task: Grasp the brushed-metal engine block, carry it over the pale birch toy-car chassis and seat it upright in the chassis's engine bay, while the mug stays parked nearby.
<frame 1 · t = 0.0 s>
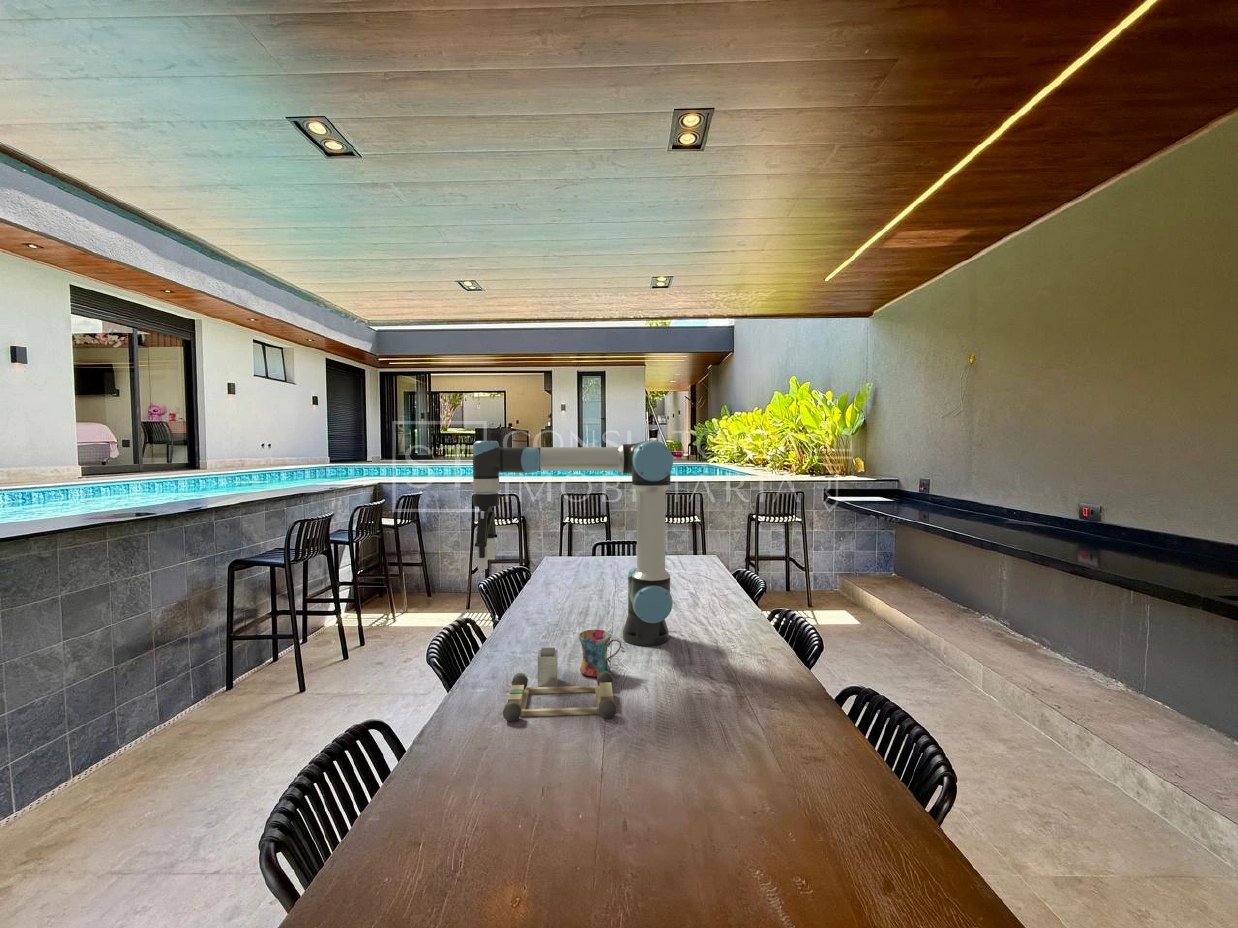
hand: (486, 564, 168), 28 cm above the table, fingers open, 13 cm apart
engine block: (547, 682, 151), on the table
mug: (599, 673, 157), on the table
chassis: (561, 702, 139), on the table
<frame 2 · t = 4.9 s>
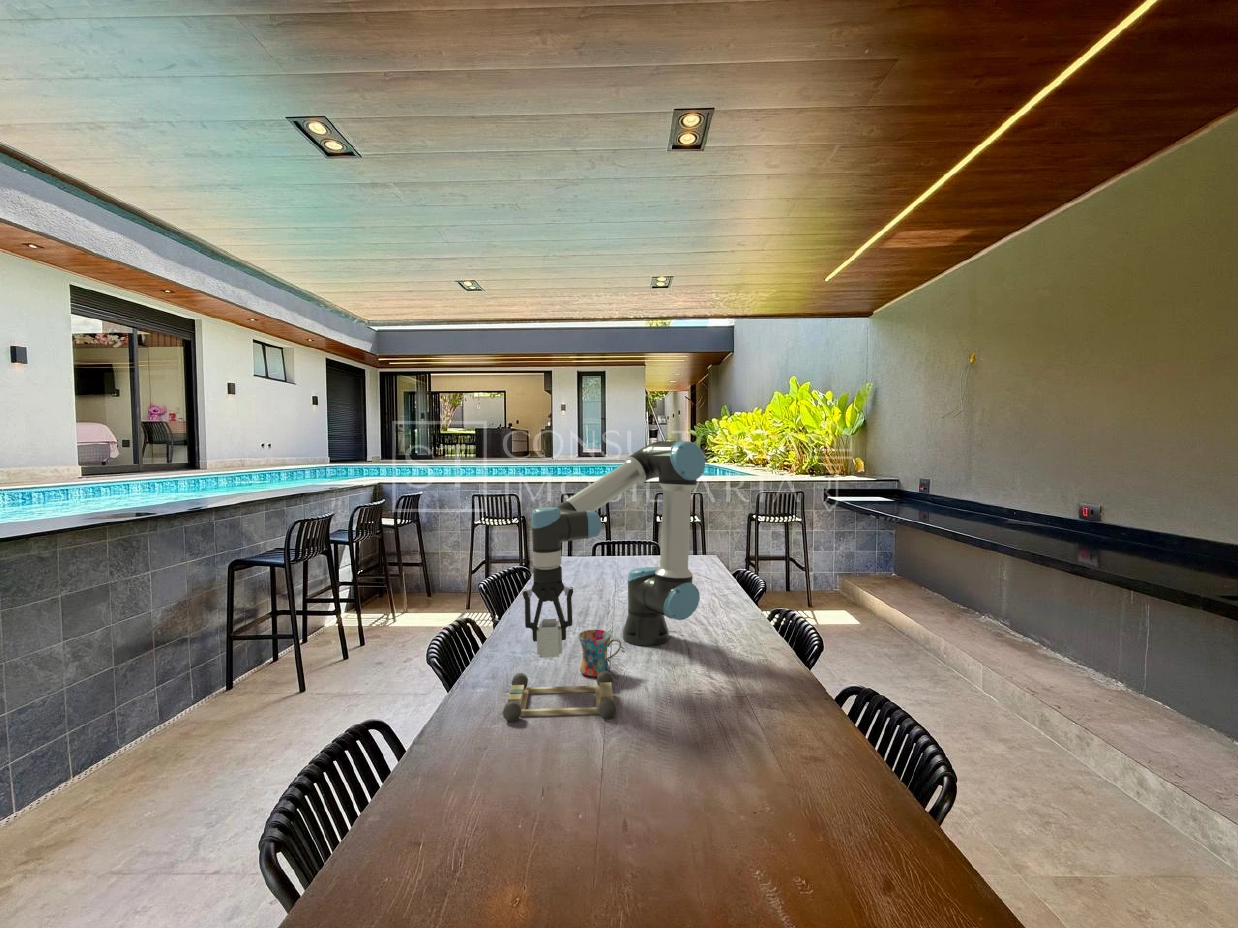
hand: (550, 652, 151), 8 cm above the table, fingers closed on engine block, 5 cm apart
engine block: (550, 653, 151), point 8 cm above the table, touching gripper
everything else where it was.
when the fingers open (1 cm above the table, at t = 8.8 s): engine block stays where it is, resting in chassis.
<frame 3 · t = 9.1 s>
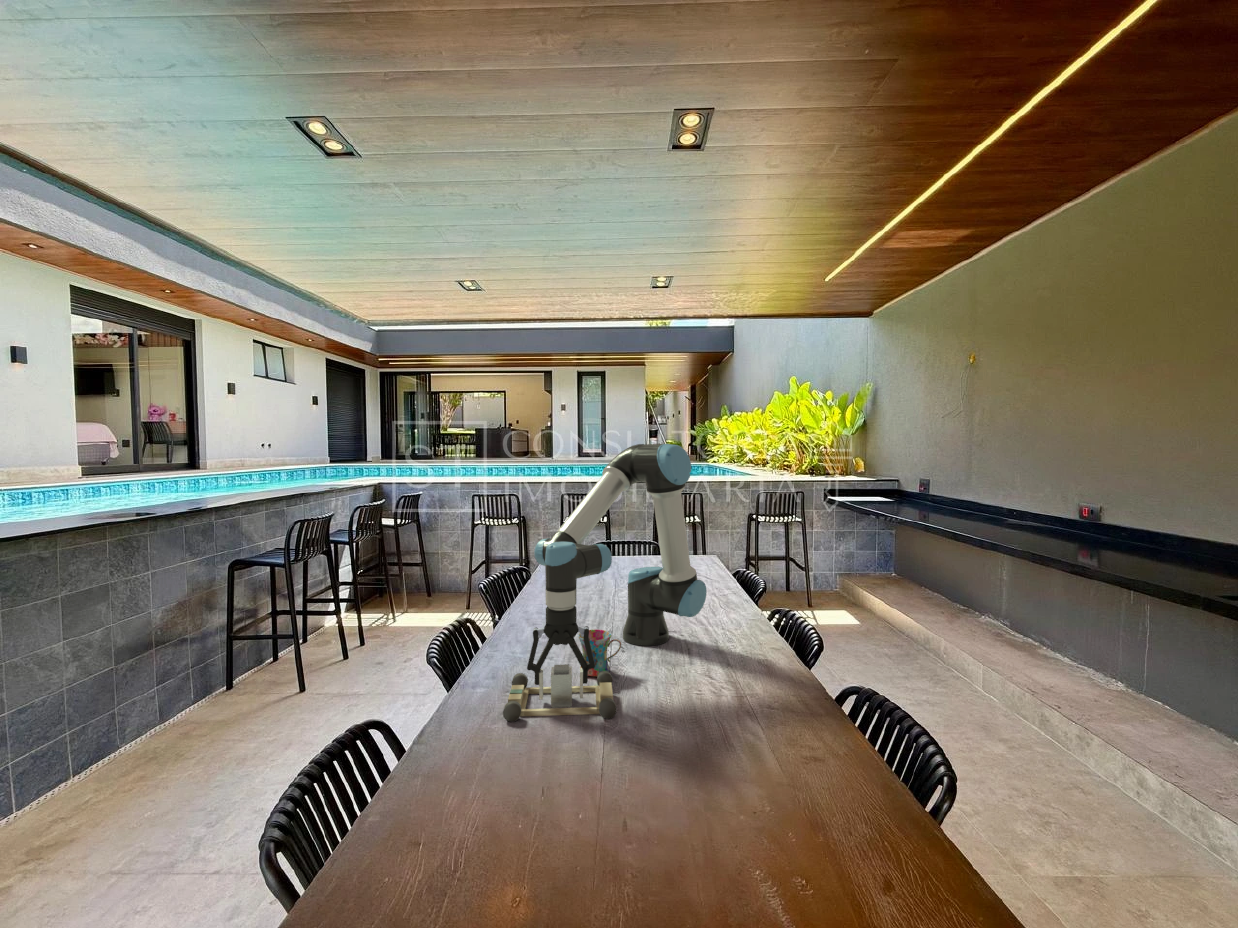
hand: (561, 696, 139), 2 cm above the table, fingers open, 9 cm apart
engine block: (561, 702, 139), resting in chassis
everything else where it was.
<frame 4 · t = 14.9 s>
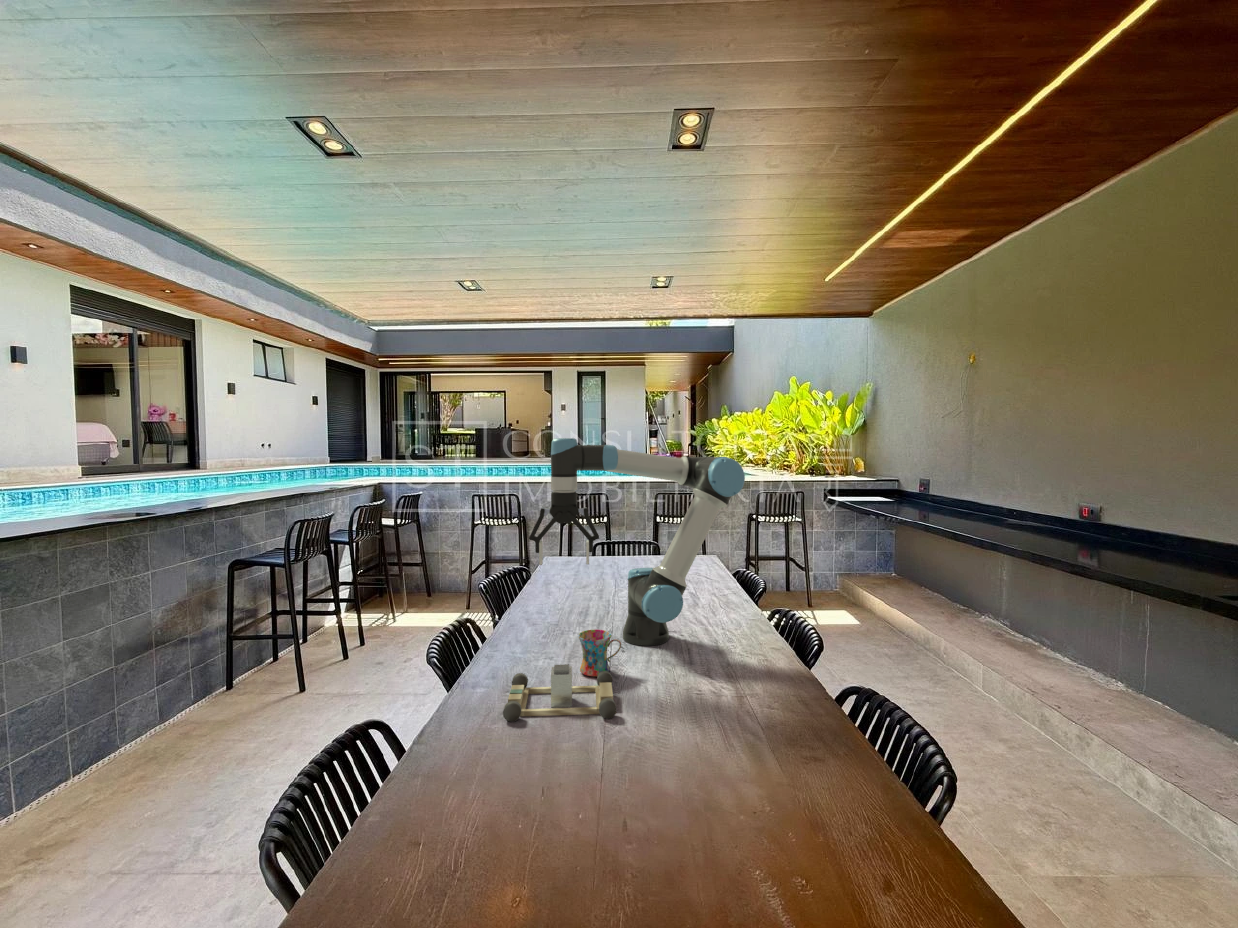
hand: (564, 563, 165), 29 cm above the table, fingers open, 13 cm apart
nothing on the table moved.
at the end: engine block inside the target area on the chassis (0.1 cm from its centre), point 0.0 cm above the chassis's base; engine block tilted 0°; the gripper is holding nothing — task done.
